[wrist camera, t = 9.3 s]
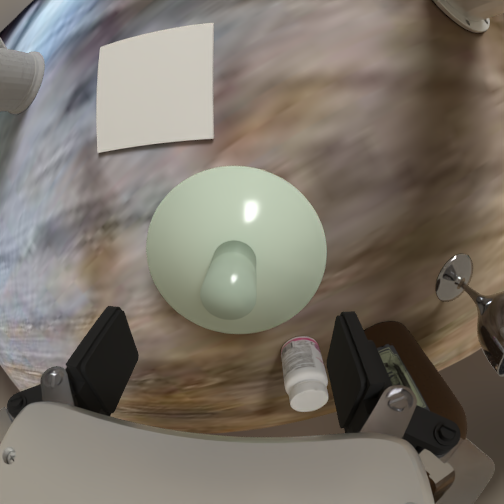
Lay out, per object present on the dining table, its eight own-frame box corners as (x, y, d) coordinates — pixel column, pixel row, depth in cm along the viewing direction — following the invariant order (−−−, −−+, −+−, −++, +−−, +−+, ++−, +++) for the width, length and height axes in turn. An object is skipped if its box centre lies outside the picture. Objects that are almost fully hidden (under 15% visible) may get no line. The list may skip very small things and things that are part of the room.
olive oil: (424, 332, 31) (505, 472, 8) (374, 381, 35) (422, 522, 12) (380, 303, 29) (480, 491, 6) (325, 362, 33) (365, 543, 10)
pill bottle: (320, 357, 32) (333, 408, 25) (284, 365, 33) (289, 417, 25) (316, 330, 31) (331, 383, 23) (277, 339, 31) (282, 393, 23)
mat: (102, 48, 18) (100, 47, 18) (213, 24, 18) (213, 22, 18) (100, 152, 23) (97, 152, 23) (214, 138, 23) (213, 138, 22)
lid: (140, 171, 18) (100, 184, 13) (329, 166, 18) (358, 176, 13) (164, 325, 23) (144, 370, 18) (315, 326, 23) (328, 373, 18)
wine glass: (433, 312, 30) (490, 388, 16) (432, 264, 27) (509, 337, 13) (473, 290, 29) (534, 351, 15) (475, 242, 26) (552, 297, 12)
